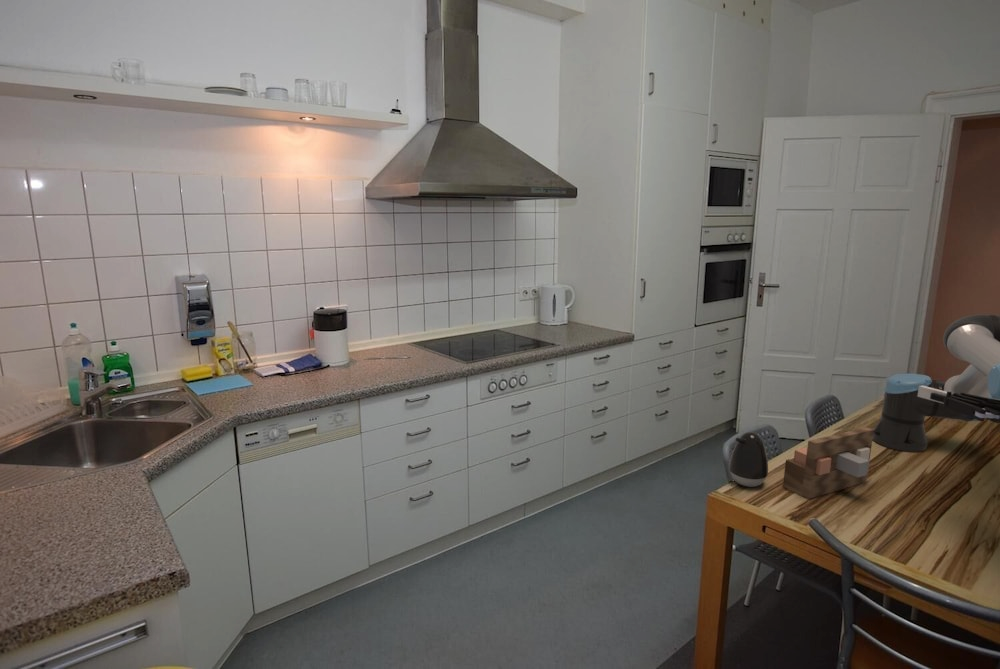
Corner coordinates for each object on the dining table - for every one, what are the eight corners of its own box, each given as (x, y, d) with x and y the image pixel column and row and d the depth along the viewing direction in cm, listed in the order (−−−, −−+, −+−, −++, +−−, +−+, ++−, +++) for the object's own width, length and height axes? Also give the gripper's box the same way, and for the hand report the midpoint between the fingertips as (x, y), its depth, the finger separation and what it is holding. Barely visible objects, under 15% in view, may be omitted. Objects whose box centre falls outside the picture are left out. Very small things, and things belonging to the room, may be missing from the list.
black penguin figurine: (719, 478, 165) (723, 428, 162) (747, 472, 168) (752, 424, 165) (745, 494, 155) (750, 442, 152) (774, 487, 159) (780, 436, 156)
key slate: (839, 462, 159) (841, 449, 158) (867, 474, 151) (869, 460, 151) (829, 465, 157) (831, 452, 156) (857, 477, 150) (859, 463, 149)
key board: (839, 470, 169) (846, 420, 166) (866, 482, 162) (873, 429, 159) (782, 486, 160) (788, 433, 156) (808, 499, 153) (815, 443, 149)
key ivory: (841, 451, 166) (843, 438, 165) (868, 461, 159) (870, 448, 158) (832, 453, 165) (833, 440, 164) (858, 464, 158) (860, 451, 157)
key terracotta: (803, 460, 160) (804, 447, 159) (829, 472, 153) (831, 458, 152) (793, 463, 158) (794, 450, 157) (819, 475, 151) (821, 461, 150)
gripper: (1017, 444, 120) (901, 408, 141) (1049, 434, 125) (933, 401, 146) (1024, 410, 118) (906, 379, 139) (1057, 401, 123) (938, 373, 144)
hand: (920, 390), depth 143 cm, fingers closed
